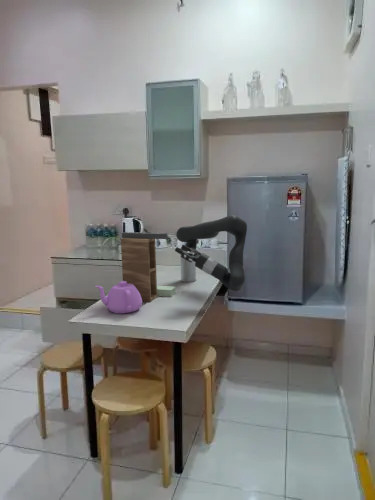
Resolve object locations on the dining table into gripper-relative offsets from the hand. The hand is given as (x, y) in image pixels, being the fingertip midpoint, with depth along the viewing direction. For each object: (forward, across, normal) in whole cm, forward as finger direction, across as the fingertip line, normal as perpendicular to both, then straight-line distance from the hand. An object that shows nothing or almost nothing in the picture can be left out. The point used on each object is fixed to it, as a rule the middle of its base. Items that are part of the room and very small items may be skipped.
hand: (178, 247), depth 192 cm
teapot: (+7, +20, +36) cm, 42 cm away
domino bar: (+18, 0, +5) cm, 19 cm away
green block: (+1, -11, +32) cm, 34 cm away
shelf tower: (+6, 0, +35) cm, 36 cm away
